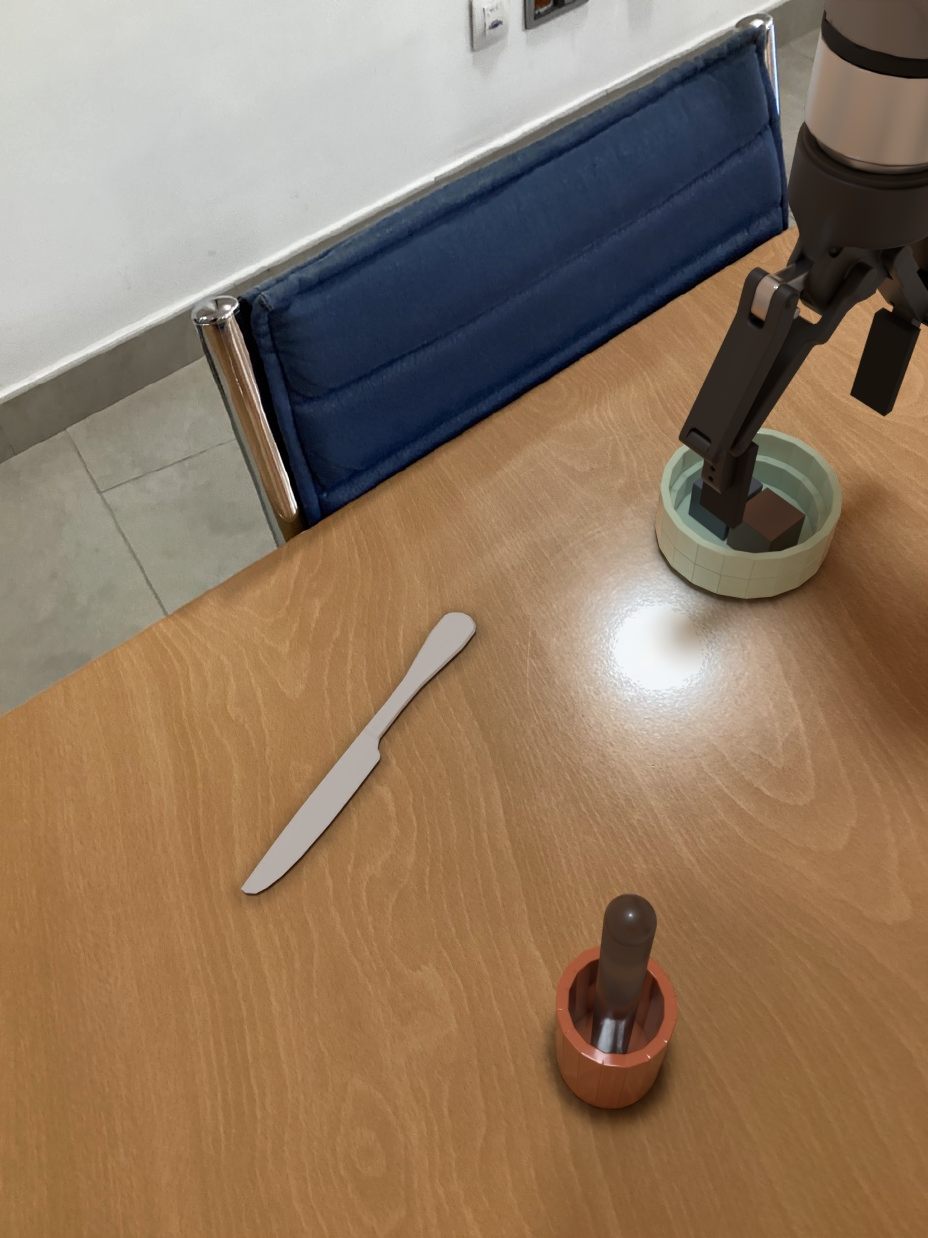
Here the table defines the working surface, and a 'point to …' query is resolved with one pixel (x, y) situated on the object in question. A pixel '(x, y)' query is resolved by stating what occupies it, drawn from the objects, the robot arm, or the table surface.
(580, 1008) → the holder
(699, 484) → the block
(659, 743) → the table surface
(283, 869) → the butter knife
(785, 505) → the block
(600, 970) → the stick
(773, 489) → the bowl
